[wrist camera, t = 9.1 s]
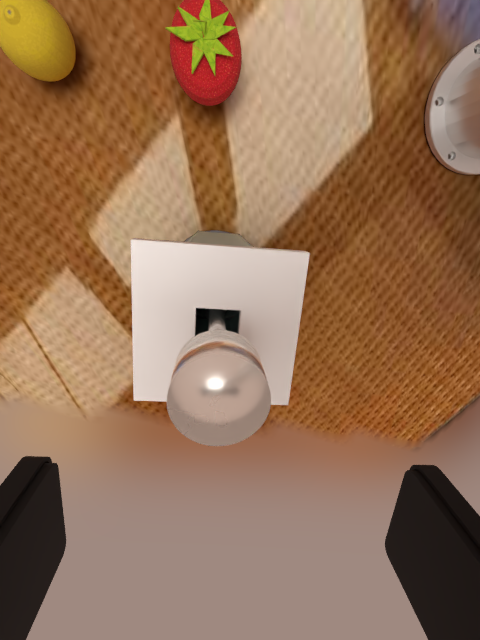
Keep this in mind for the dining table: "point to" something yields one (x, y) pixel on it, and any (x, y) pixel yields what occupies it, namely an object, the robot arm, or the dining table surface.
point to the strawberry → (205, 50)
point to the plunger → (218, 385)
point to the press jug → (213, 304)
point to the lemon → (36, 39)
